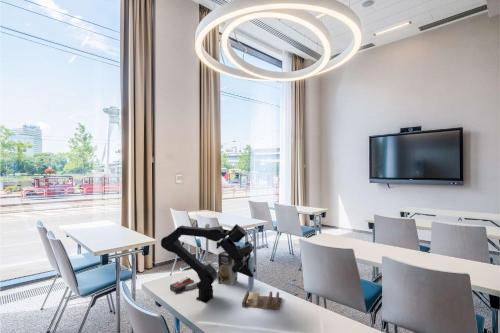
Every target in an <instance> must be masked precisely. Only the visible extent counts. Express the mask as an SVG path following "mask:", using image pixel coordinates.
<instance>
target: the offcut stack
mask: <svg viewBox="0 0 500 333" xmlns="http://www.w3.org/2000/svg"><path fill="white" fill-rule="evenodd" d="M259 296H260V292H255V291H249V296H248V298H247V301H246V305H252V306H257V304H258V300H259Z"/></svg>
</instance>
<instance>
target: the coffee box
mask: <svg viewBox="0 0 500 333" xmlns="http://www.w3.org/2000/svg"><path fill="white" fill-rule="evenodd" d="M217 255H218V256H217V258H218V259H217V260H218V262H217V264H218V270H217V281H218V282H217V283H218V284H220V285H221V284H225V285H228V286H233V285H235V284H236V283H237V282H238V273H237V272H236V273H234V272H233V271H232V266H233V265H234V261H233V259H232V258H231V257H228V254H227V253H226V252H225V251H222V252H219V253H218V254H217Z"/></svg>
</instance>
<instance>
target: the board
mask: <svg viewBox="0 0 500 333" xmlns="http://www.w3.org/2000/svg"><path fill="white" fill-rule="evenodd" d="M254 268H255V256H253V255H251V257H250V259H249V269H250V271H251V272H252V274H253V275H254V276H253V277H249V276H248V278H247V279H248V280H247V281H248V284H247V285H248V288H247V289H248V291H249V292H253V288H254V285H255V282H254V281H255V280H254V278H255V272H254Z"/></svg>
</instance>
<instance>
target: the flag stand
mask: <svg viewBox="0 0 500 333" xmlns="http://www.w3.org/2000/svg"><path fill="white" fill-rule="evenodd" d="M204 228H211V226H210V223H205V224H204ZM200 262H201V263H202V264H204V265H208V264H210V265H211V266H212V267H213V268H215V270H216V272H218V262H213V261H210V260H209V239H207V238H205V261H200Z"/></svg>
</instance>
